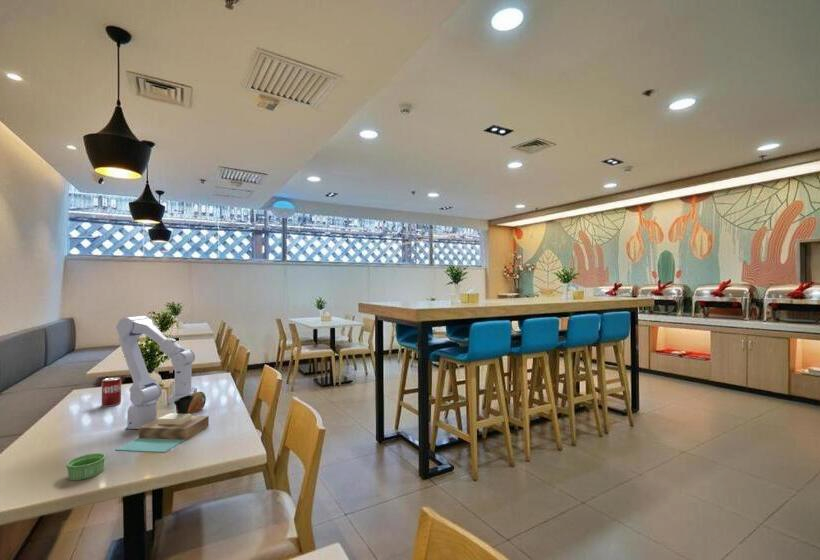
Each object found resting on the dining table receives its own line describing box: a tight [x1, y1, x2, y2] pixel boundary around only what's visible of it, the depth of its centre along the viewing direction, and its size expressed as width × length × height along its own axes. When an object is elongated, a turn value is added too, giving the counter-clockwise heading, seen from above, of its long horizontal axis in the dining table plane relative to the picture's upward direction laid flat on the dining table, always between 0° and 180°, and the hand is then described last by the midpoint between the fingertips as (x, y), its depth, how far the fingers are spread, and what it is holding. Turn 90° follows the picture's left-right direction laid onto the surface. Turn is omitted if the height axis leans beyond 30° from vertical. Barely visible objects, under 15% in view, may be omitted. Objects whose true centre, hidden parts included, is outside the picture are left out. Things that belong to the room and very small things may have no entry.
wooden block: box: [138, 414, 210, 441], centre depth 148 cm, size 18×14×4 cm
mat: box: [115, 437, 186, 453], centre depth 136 cm, size 18×10×1 cm, turn 85°
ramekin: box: [66, 452, 106, 481], centre depth 116 cm, size 9×9×4 cm
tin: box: [175, 391, 207, 415], centre depth 170 cm, size 15×3×8 cm, turn 168°
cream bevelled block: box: [157, 412, 192, 425], centre depth 148 cm, size 9×6×2 cm, turn 85°
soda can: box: [101, 376, 122, 408], centre depth 182 cm, size 7×7×12 cm
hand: (183, 415), depth 153 cm, fingers closed
